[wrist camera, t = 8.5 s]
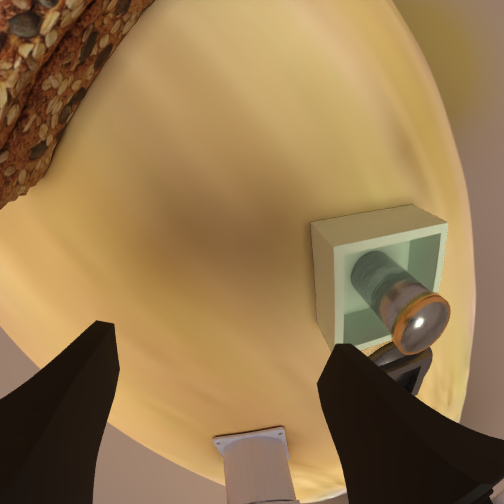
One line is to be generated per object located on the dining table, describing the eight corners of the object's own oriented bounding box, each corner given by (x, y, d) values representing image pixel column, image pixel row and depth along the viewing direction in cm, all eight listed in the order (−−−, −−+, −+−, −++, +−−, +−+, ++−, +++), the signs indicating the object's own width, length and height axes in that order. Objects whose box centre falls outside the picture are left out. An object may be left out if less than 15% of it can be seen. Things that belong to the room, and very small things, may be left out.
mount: (417, 385, 28) (425, 397, 26) (343, 412, 28) (349, 427, 26) (436, 324, 24) (448, 337, 22) (350, 355, 24) (359, 371, 22)
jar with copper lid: (397, 248, 19) (458, 295, 13) (385, 293, 21) (435, 348, 14) (353, 247, 19) (411, 301, 12) (343, 296, 20) (388, 359, 14)
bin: (405, 297, 22) (431, 325, 18) (316, 322, 22) (334, 357, 18) (412, 204, 19) (448, 222, 15) (310, 222, 18) (333, 246, 15)
